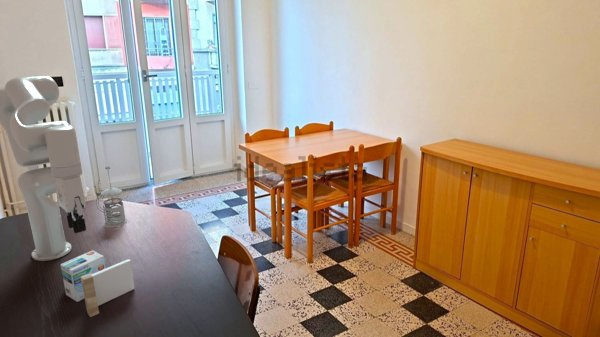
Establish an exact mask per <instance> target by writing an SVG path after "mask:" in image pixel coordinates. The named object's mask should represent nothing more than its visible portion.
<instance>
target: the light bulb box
mask: <svg viewBox="0 0 600 337" xmlns="http://www.w3.org/2000/svg"><path fill="white" fill-rule="evenodd" d="M106 268H107V266H106V258H105V256H104V255H102V254H100V253H99V252H97V251H95V250H93V249H92V250H90V251H88V252H85V253H83V254H80V255H79V256H76V257H74V258H72V259H70V260H67V261H65V262H63V263H60V270H61V274H62V275H61V276H62V280H63V284H64V286H63V287H64V290H65V295H66V296H67V297H69V298H71V300H73V301H75V302H76V303H77V302H80V301H82V300H85V298H84V292H83V287H82V281H81V276H84V275H87V274H89V273H90V274H94V273H96V272H98V271H101V270H103V269H106Z"/></svg>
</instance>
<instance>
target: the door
mask: <svg viewBox="0 0 600 337" xmlns="http://www.w3.org/2000/svg"><path fill="white" fill-rule="evenodd" d="M91 275H92V276H93V281H94V286H95V292H96V298H97V303H98V307H99V306H101V305H103V304H105V303H107V302H109V301H111V300H114V299H115V298H116V299H117V298H118V297H120V296H123V295H125V294H127V293H128V292H131V291H133V290H134V289H135V288H136V287H135V281H134V273H133V267H132V261H131V259H130V258H128V259H125V260H123V261H120V262H118V263H115V264H113V265H111V266H108V267H106V269H103V270H101V271H98V272H96V273H94V274H91Z"/></svg>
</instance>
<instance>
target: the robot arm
mask: <svg viewBox="0 0 600 337" xmlns="http://www.w3.org/2000/svg"><path fill="white" fill-rule="evenodd" d="M59 96H60V89H59V85H58V84H57V82H56V81H55V80H54V79H53V78H52V77H51V76H47V75H37V76H36V75H35V76H20V77H14V78H12V79H11V78H10V80H8V81H7V82H6V83H5V85H4V87H0V125H1V126H2V127H3V129H4V130H5V133H6V136H7V139H8V142H9V145H10V148H11V151H12V154H13V157H14V160H15V162H16V163H17V165H19V166H20V167H22V168H28V167H29V168H31V167H36V166H41V165H46V164H49V165H50V166H46V167H40V168H35V169H31V170H27V171H25V172H23V173H21V174H20V175H19V176H18V179H17V185H18V189H19V190H20V191H19V192H20V193H21V194H22V195H21V196H22V198H23V201H24V203H25V207H26V211H27V215H28V216H27V217H28V220H29V224H30V228H31V233H32V238H33V242H34V243H33V244H34V247H35V249H34V250H33V251H32V252H31V257H32V259H33V260H34V261H38V262H45V261H53V260H57V259H59V258H62V257H64V256H66V255H67V254H69V253H70V252H71V251H72V250H73V247H72V244H71V243H70V242H68V241H67V240H66V236H65V231H64V226H63V221H62V215H61V210H60V208H61V209H63V210H64V212H65V214H66V220H67V225H68V228H69V229H73V233H74V234H78V233H82V232H86V231H87V226H86V221H85V213H84V212H85V211H84V209H85V208H86V204H87V203H86V200H85V194H84V189H83V188H84V187H83V184H82V183H83V182H82V179H81V176H82V175H83V168H82V162H81V161H82V160H81V157H80V150H79V144H78V139H77V138H78V137H77V132H76V130H75V128H74V127H73V125H71V124H70V123H69V121H65V120H57V121H54V120H53V121H50V122H49V121H47V122H41V121H44V120H45V118H47V116H49V113H50V110H51V108H50V107H52V106H53V105H54V104H56V102H57V101H58V99H59V98H60V97H59ZM54 194H56V199H57V201H56V200H54V199H53V198H52V197H50V196H51V195H54Z"/></svg>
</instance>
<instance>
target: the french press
mask: <svg viewBox="0 0 600 337" xmlns="http://www.w3.org/2000/svg"><path fill="white" fill-rule="evenodd" d="M105 170H107V174H108V176H110V171H109V170H111V166H110V165H106V166H105ZM110 178H111V177H108V179H109V182H111V179H110ZM111 184H112V183H109V188H106V189H104V190H102V191H101V192H100V195H99V196H98V197H97V198H96V200H95V205H96V208H97V209H98V211H99V212H101V213H103V214H104V220H105V221H104V222H103V224H102V225H103V227H105V228H110V229H112V228H120V227H122V226H125V225H126V224H128V222H129V219H128V218H127V217H126V213H125V207H124V202H123V200H122V198H119V197H114V196H118V195H120V194H121V193H122V192H123V190H122V189H120V188H117V187H111V186H112V185H111ZM100 197H101V199H102V200H103V199H104V198H105V197H111V198H107V199H106V200H104V201H103V202H102V203H103V205H102V207H101V206H100V202H99V199H100ZM97 204H98V205H97ZM100 209H101V210H100ZM127 219H128V220H127ZM127 221H128V222H127ZM124 224H125V225H124Z"/></svg>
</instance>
